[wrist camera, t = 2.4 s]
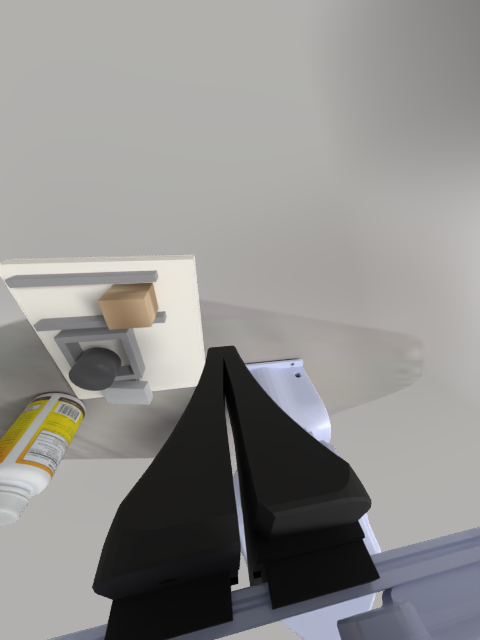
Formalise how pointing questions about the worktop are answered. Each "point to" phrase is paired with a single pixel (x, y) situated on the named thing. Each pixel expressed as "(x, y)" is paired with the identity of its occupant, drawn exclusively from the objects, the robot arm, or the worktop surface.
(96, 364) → the black push button
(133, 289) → the tan block
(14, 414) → the worktop surface
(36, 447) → the supplement bottle
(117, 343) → the switch board
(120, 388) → the grey rocker switch
